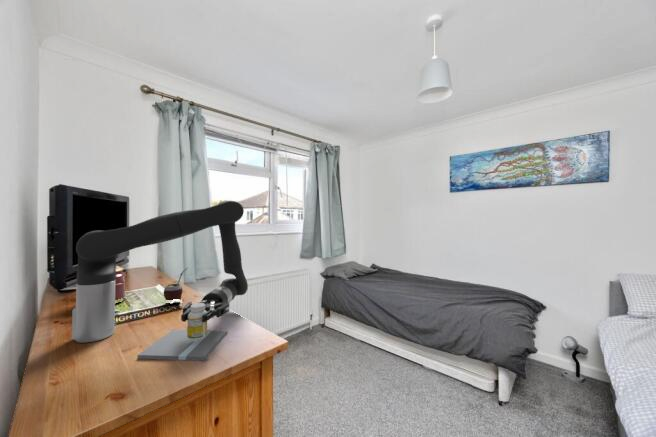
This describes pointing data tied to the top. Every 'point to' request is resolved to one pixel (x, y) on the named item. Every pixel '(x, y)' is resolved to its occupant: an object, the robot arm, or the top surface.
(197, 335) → the supplement bottle
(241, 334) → the top surface
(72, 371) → the top surface
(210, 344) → the floor panel
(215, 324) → the top surface
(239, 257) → the robot arm
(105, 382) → the top surface
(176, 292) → the mate gourd
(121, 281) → the canister
